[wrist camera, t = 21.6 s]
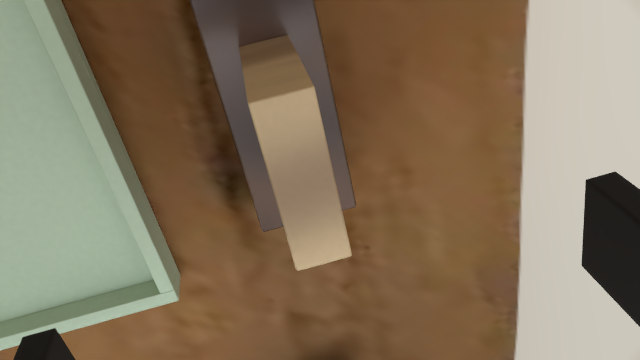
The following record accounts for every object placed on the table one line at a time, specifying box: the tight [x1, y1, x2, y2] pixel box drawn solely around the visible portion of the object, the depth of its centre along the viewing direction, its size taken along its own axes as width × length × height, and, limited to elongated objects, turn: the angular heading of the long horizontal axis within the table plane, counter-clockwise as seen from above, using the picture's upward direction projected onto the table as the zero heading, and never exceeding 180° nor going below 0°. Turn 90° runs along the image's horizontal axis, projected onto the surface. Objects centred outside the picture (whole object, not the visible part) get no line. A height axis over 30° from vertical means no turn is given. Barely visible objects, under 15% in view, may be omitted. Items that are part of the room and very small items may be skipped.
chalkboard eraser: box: [189, 0, 356, 271], centre depth 24 cm, size 12×5×10 cm, turn 12°
